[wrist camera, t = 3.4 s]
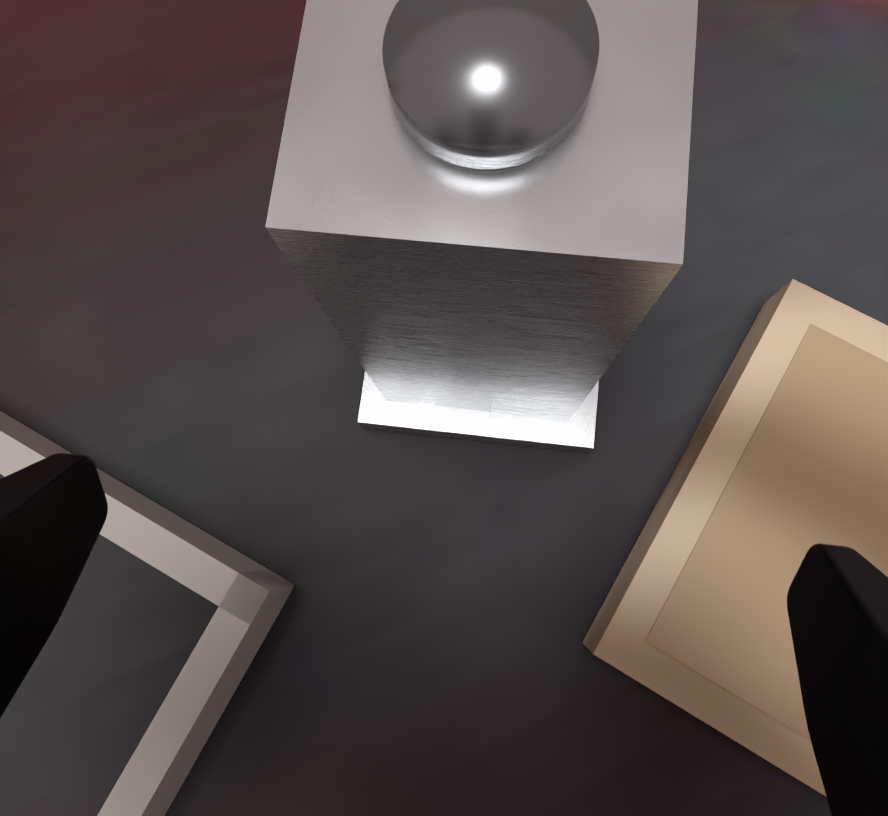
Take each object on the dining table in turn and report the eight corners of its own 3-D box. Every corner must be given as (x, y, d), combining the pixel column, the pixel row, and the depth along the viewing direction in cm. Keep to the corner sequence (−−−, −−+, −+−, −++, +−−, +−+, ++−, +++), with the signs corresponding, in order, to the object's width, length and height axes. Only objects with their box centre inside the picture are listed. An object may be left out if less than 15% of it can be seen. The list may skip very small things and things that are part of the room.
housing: (587, 453, 21) (760, 309, 8) (364, 428, 21) (180, 255, 8) (603, 257, 22) (776, -151, 9) (392, 238, 22) (268, -171, 10)
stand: (982, 887, 18) (1046, 931, 16) (581, 642, 20) (593, 654, 18) (1147, 496, 20) (1223, 491, 18) (764, 302, 21) (793, 278, 19)
